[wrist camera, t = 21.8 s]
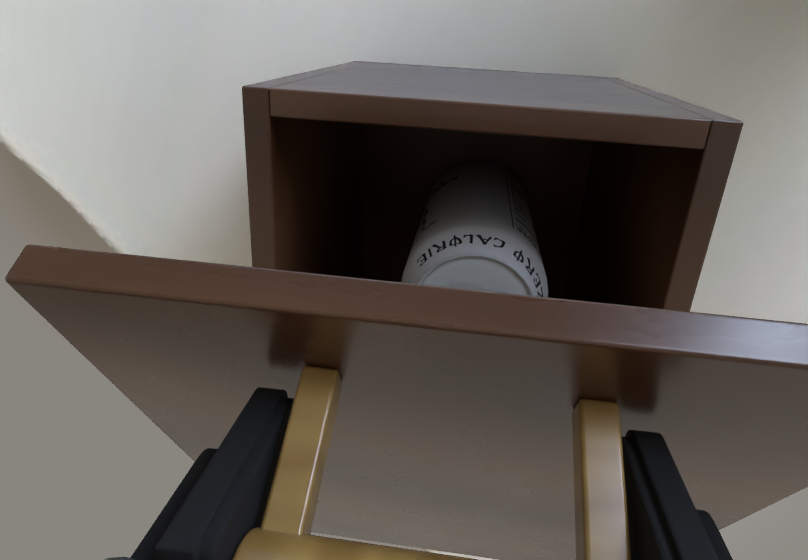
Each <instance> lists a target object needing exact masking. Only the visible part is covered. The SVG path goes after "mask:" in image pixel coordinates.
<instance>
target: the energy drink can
mask: <svg viewBox="0 0 808 560" xmlns="http://www.w3.org/2000/svg"><path fill="white" fill-rule="evenodd" d="M401 282H402V283H412V284H421V285H431V286H441V287H451V288H461V289H470V290H480V291H490V292H500V293H510V294H519V295H529V296H539V297H548V285H547V278H546V274H545V270H544V266H543V262H542V258H541V254H540V250H539V246H538V242H537V238H536V234H535V230H534V226H533V222H532V218H531V214H530V211H529V207H528V203H527V199H526V195H525V193H524V190H523V187H522V186H521V184H520V182H519V181H518V179H517V178H516V177H515V176H514V175H513V174H512V173H511V172H509V171H508V170H507V169H505V168H504V167H502V166H500V165H497V164H495V163H492V162H487V161H469V162H464V163H461V164H459V165H456V166H454V167H452V168H451V169H449V170H448V171H446V172H445V173H444V174H443V175H442V176H441V177H440V178H439V179H438V180H437V182H436V183H435V185H434V186H433V188H432V191H431V193H430V195H429V198H428V201H427V204H426V207H425V210H424V213H423V216H422V219H421V222H420V225H419V228H418V231H417V234H416V236H415V239H414V242H413V245H412V248H411V251H410V254H409V257H408V260H407V263H406V266H405V269H404V272H403V277H402V281H401Z"/></svg>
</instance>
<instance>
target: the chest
mask: <svg viewBox="0 0 808 560" xmlns="http://www.w3.org/2000/svg"><path fill="white" fill-rule="evenodd" d="M242 95H243V113H244V130H245V147H246V164H247V182H248V199H249V216H250V233H251V250H252V267H255V268H265V269H275V270H285V271H294V272H304V273H314V274H324V275H333V276H343V277H353V278H363V279H373V280H382V281H392V282H401V281H402V277H403V272H404V269H405V266H406V263H407V260H408V257H409V254H410V251H411V248H412V245H413V242H414V239H415V236H416V234H417V231H418V228H419V225H420V222H421V219H422V216H423V213H424V210H425V207H426V204H427V201H428V198H429V195H430V193H431V191H432V188H433V186H434V185H435V183H436V182H437V180H438V179H439V178H440V177H441V176H442V175H443V174H444V173H445V172H446V171H448V170H449V169H451V168H452V167H454V166H456V165H459V164H461V163H464V162H469V161H487V162H492V163H495V164H497V165H500V166H502V167H504V168H505V169H507V170H508V171H509V172H511V173H512V174H513V175H514V176H515V177H516V178H517V179H518V181H519V182H520V184H521V186H522V187H523V190H524V193H525V195H526V199H527V203H528V207H529V211H530V214H531V218H532V222H533V226H534V230H535V234H536V238H537V242H538V246H539V250H540V254H541V258H542V262H543V266H544V270H545V274H546V278H547V285H548V297H549V298H558V299H568V300H578V301H588V302H598V303H607V304H617V305H627V306H637V307H647V308H656V309H666V310H676V311H686V312H689V311H690V308H691V304H692V301H693V297H694V294H695V290H696V287H697V283H698V280H699V277H700V273H701V270H702V266H703V263H704V259H705V256H706V252H707V249H708V245H709V242H710V238H711V235H712V231H713V228H714V224H715V221H716V217H717V214H718V210H719V207H720V203H721V200H722V196H723V193H724V189H725V186H726V182H727V179H728V175H729V172H730V168H731V165H732V161H733V158H734V154H735V151H736V147H737V144H738V140H739V137H740V133H741V130H742V126H743V122H742V121H740V120H737V119H734V118H731V117H728V116H725V115H723V114H720V113H717V112H714V111H711V110H708V109H705V108H702V107H699V106H697V105H694V104H691V103H688V102H685V101H682V100H679V99H676V98H673V97H671V96H668V95H665V94H662V93H659V92H656V91H653V90H650V89H647V88H645V87H642V86H639V85H636V84H633V83H630V82H627V81H624V80H622V79H619V78H608V77H593V76H577V75H562V74H546V73H531V72H516V71H500V70H485V69H469V68H454V67H438V66H423V65H408V64H392V63H377V62H361V61H354V62H349V63H345V64H341V65H336V66H332V67H327V68H323V69H318V70H314V71H309V72H305V73H300V74H296V75H291V76H287V77H282V78H278V79H273V80H269V81H264V82H260V83H256V84H251V85H247V86H243V87H242Z"/></svg>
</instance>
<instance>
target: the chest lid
mask: <svg viewBox="0 0 808 560" xmlns="http://www.w3.org/2000/svg"><path fill="white" fill-rule="evenodd" d="M5 280H6V282H7V283H8V284H9V285H10V286H11V287H12V288H13V289H15V291H16V292H18V293H19V294H20V295H21V296H22V297H23V298H24V299H25V300H26V301H27V302H28V303H29V304H30V305H31V306H32V307H33V308H34V309H35V310H36V311H37V312H39V313H40V314H41V315H42V316H43V317H44V318H45V319H46V320H47V321H48V322H49V323H50V324H51V325H52V326H53V327H54V328H55V329H56V330H57V331H58V332H59V333H61V334H62V335H63V336H64V337H65V338H66V339H67V340H68V341H69V342H70V343H71V344H72V345H73V346H74V347H75V348H76V349H77V350H78V351H79V352H80V353H82V354H83V355H84V356H85V357H86V358H87V359H88V360H89V361H90V362H91V363H92V364H93V365H94V366H95V367H97V369H98V370H99V371H100V372H101V373H102V374H103V375H105V376H106V377H107V378H108V379H109V380H110V381H111V382H112V383H113V384H114V385H115V386H116V387H117V388H118V389H119V390H120V391H121V392H122V393H123V394H125V395H126V396H127V397H128V398H129V399H130V400H131V401H132V402H133V403H134V404H135V405H136V406H137V407H138V408H139V409H140V410H142V412H144V414H145V415H146V416H148V417H149V418H150V419H151V420H152V421H153V422H154V423H155V424H156V425H157V426H158V427H159V428H160V429H161V430H162V431H163V432H164V433H165V434H166V435H168V436H169V437H170V438H171V439H172V440H173V441H174V442H175V443H176V444H177V445H178V446H179V447H180V448H181V449H182V450H183V451H184V452H185V453H186V454H187V455H188V456H189V457H191V458H192V459H193V460H194V461H196V460H197V458H198V457H199V455H200V454H201V453H202V452H203V451H204V450H205V449H207V448H213V449H218V448H219V446H220V445H221V443H222V441H223V440H224V438H225V437H226V435H227V434H228V432H229V430H230V429H231V427H232V426H233V424H234V423H235V421H236V419H237V418H238V416H239V415H240V413H241V412H242V410H243V408H244V407H245V405H246V404H247V402H248V401H249V399H250V397H251V396H252V394H253V393H254V391H255V390H256V389H257V388H258V387H263V388H272V389H280V390H285V391H286V392H287V395H288V398H294V401H293V405H292V409H291V413H290V417H289V420H288V424H287V428H286V432H285V436H284V439H283V443H282V447H281V451H280V454H279V458H278V462H277V466H276V470H275V473H274V477H273V481H272V485H271V489H270V492H269V496H268V500H267V504H266V508H265V511H264V515H263V519H262V523H261V527H256V528H253V529H251V530H249V531H248V532H247V533H246V534H245V536H244V537H243V539H242V540H241V542H240V544H239V546H238V548H237V550H236V552H235V554H234V556H233V558H232V560H477V559H471V558H464V557H457V556H450V555H443V554H437V553H430V552H423V551H416V550H409V549H403V548H396V547H389V546H382V545H375V544H368V543H362V542H355V541H348V540H342V539H335V538H328V537H321V536H315V535H310V533H311V532H316V533H322V534H329V535H336V536H343V537H350V538H357V539H363V540H371V541H377V542H384V543H391V544H397V545H405V546H411V547H418V548H424V549H431V550H438V551H445V552H452V553H458V554H465V555H472V556H479V557H485V558H492V559H499V560H631V549H630V537H629V524H628V511H627V498H626V486H625V473H624V460H623V447H622V436H623V437H625V435H626V433H627V431H628V430H638V431H647V432H656V433H660V434H662V436H663V438H664V440H665V442H666V444H667V446H668V449H669V451H670V453H671V455H672V457H673V460H674V462H675V464H676V466H677V468H678V471H679V473H680V475H681V477H682V480H683V482H684V484H685V486H686V488H687V491H688V493H689V495H690V497H691V499H692V502H693V504H694V506H695V508H696V509H697V510H705V511H706V512H708V513H709V514H710V515H711V517H712V519H713V520H714V522H715V524H716V526H717V528H718V530H720V529H722V528H724V527H726V526H728V525H730V524H732V523H734V522H736V521H738V520H740V519H743V518H744V517H746V516H749V515H751V514H753V513H755V512H757V511H759V510H761V509H763V508H765V507H767V506H769V505H771V504H773V503H775V502H777V501H779V500H781V499H784V498H785V497H788V496H790V495H792V494H794V493H796V492H798V491H800V490H802V489H804V488H806V487H808V324H803V323H793V322H784V321H774V320H764V319H754V318H744V317H735V316H725V315H715V314H705V313H695V312H686V311H676V310H666V309H656V308H647V307H637V306H627V305H617V304H607V303H598V302H588V301H578V300H568V299H558V298H549V297H539V296H529V295H519V294H510V293H500V292H490V291H480V290H470V289H461V288H451V287H441V286H431V285H421V284H412V283H402V282H392V281H382V280H373V279H363V278H353V277H343V276H333V275H324V274H314V273H304V272H294V271H285V270H275V269H265V268H255V267H245V266H236V265H226V264H216V263H206V262H196V261H187V260H177V259H167V258H157V257H148V256H138V255H128V254H118V253H108V252H98V251H89V250H79V249H69V248H59V247H50V246H40V245H27V246H26V247H25V248H24V250H23V251H22V253H21V254H20V256H19V257H18V259H17V260H16V262H15V263H14V265H13V267H12V268H11V269H10V271H9V273H8V274H7V276H6V278H5Z"/></svg>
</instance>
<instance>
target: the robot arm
mask: <svg viewBox="0 0 808 560" xmlns="http://www.w3.org/2000/svg"><path fill="white" fill-rule="evenodd" d="M293 401H294V398H288V395H287V392H286V391H285V390H280V389H272V388H263V387H258V388H257V389H256V390H255V391H254V393H253V394H252V396H251V397H250V399H249V401H248V402H247V404H246V405H245V407H244V408H243V410H242V412H241V413H240V415H239V416H238V418H237V419H236V421H235V423H234V424H233V426H232V427H231V429H230V430H229V432H228V434H227V435H226V437H225V438H224V440H223V441H222V443H221V445H220V446H219V448H218V449H213V448H207V449H205V450H204V451H203V452H202V453H201V454H200V455H199V457H198V458H197V460H196V461H195V463H194V464H193V466H192V467H191V469H190V470H189V472H188V473H187V475H186V476H185V478H184V479H183V480H182V482H181V483H180V485H179V486H178V488H177V490H176V491H175V492H174V494H173V495H172V497H171V498H170V500H169V501H168V503H167V505H166V506H165V507H164V509H163V510H162V512H161V513H160V515H159V516H158V518H157V519H156V521H155V522H154V524H153V525H152V527H151V528H150V530H149V531H148V533H147V534H146V536H145V537H144V539H143V540H142V542H141V543H140V545H139V546H138V548H137V549H136V550H135V552H134V553H133V555H132V556H131V558H127V557H117V558H108V559H104V560H232V558H233V556H234V554H235V552H236V550H237V548H238V546H239V544H240V542H241V540H242V539H243V537H244V536H245V534H246V533H247V532H248V531H249V530H251V529H253V528H256V527H261V523H262V519H263V515H264V511H265V508H266V504H267V500H268V496H269V492H270V489H271V485H272V481H273V477H274V473H275V470H276V466H277V462H278V458H279V454H280V451H281V447H282V443H283V439H284V436H285V432H286V428H287V424H288V420H289V417H290V413H291V409H292V405H293ZM622 447H623V460H624V473H625V486H626V498H627V511H628V524H629V537H630V549H631V560H733V559H732V557H731V556H730V553H729V551H728V549H727V547H726V545H725V543H724V541H723V539H722V536H721V534H720V532H719V530H718V528H717V526H716V524H715V522H714V520H713V519H712V517H711V515H710V514H709V513H708V512H706V511H705V510H697V509H696V508H695V506H694V504H693V502H692V499H691V497H690V495H689V493H688V491H687V488H686V486H685V484H684V482H683V480H682V477H681V475H680V473H679V471H678V468H677V466H676V464H675V462H674V460H673V457H672V455H671V453H670V451H669V449H668V446H667V444H666V442H665V440H664V438H663V436H662V434H660V433H656V432H647V431H638V430H628V431H627V433H626V435H625V437H623V436H622Z"/></svg>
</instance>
